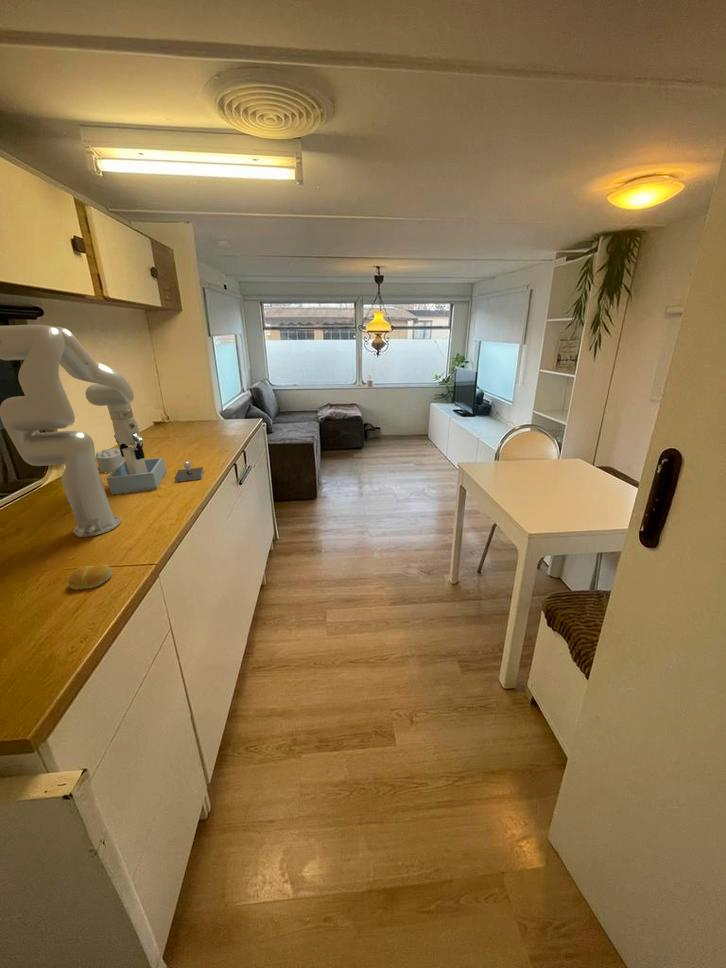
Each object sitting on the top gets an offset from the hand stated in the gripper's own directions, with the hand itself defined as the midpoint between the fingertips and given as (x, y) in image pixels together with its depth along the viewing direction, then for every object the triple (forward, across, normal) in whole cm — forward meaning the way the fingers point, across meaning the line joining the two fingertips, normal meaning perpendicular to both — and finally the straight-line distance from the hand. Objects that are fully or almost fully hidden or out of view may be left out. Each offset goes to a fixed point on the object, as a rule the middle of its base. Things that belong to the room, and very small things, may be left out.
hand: (133, 457), depth 150 cm
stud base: (+11, -13, -14) cm, 22 cm away
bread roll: (+13, -52, +46) cm, 70 cm away
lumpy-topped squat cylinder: (+11, +30, -6) cm, 33 cm away
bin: (+11, 0, 0) cm, 11 cm away
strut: (+10, 0, -1) cm, 10 cm away
